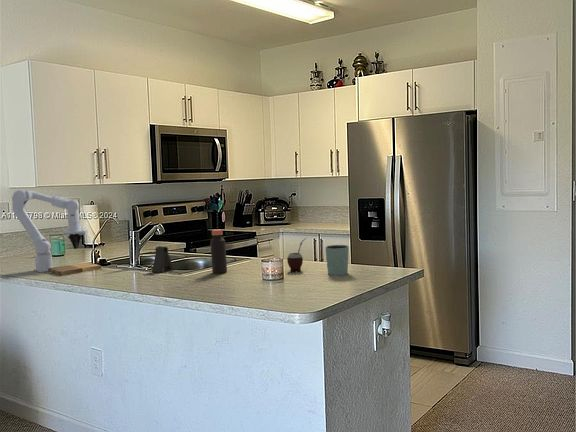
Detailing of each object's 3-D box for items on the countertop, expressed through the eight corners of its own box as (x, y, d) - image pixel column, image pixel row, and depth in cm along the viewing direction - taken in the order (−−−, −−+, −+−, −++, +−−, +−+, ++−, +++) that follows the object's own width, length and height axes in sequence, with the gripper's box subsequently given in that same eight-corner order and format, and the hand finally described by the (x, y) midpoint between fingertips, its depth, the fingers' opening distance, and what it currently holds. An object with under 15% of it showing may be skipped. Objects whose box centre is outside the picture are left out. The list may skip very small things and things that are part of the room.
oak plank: (68, 269, 300) (68, 265, 299) (86, 266, 306) (86, 262, 306) (82, 272, 286) (82, 268, 286) (101, 269, 293) (101, 265, 293)
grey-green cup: (336, 270, 254) (335, 244, 253) (354, 272, 247) (353, 245, 246) (321, 274, 247) (320, 247, 246) (339, 277, 240) (338, 248, 239)
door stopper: (159, 273, 273) (157, 248, 272) (151, 272, 277) (150, 247, 276) (174, 269, 279) (172, 245, 278) (166, 269, 283) (165, 245, 282)
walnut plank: (48, 272, 293) (48, 268, 292) (67, 269, 299) (67, 265, 299) (61, 275, 279) (61, 271, 279) (81, 272, 286) (81, 268, 286)
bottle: (224, 273, 262) (221, 230, 260) (210, 274, 263) (207, 231, 261) (228, 271, 268) (226, 228, 266) (215, 271, 269) (212, 229, 268)
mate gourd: (284, 271, 259) (282, 239, 257) (296, 268, 264) (294, 236, 263) (296, 273, 254) (295, 239, 252) (308, 270, 259) (306, 237, 258)
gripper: (57, 224, 298) (59, 249, 299) (80, 223, 294) (83, 249, 295) (66, 222, 305) (68, 247, 306) (89, 221, 301) (91, 247, 302)
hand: (76, 248), depth 301 cm, fingers closed
